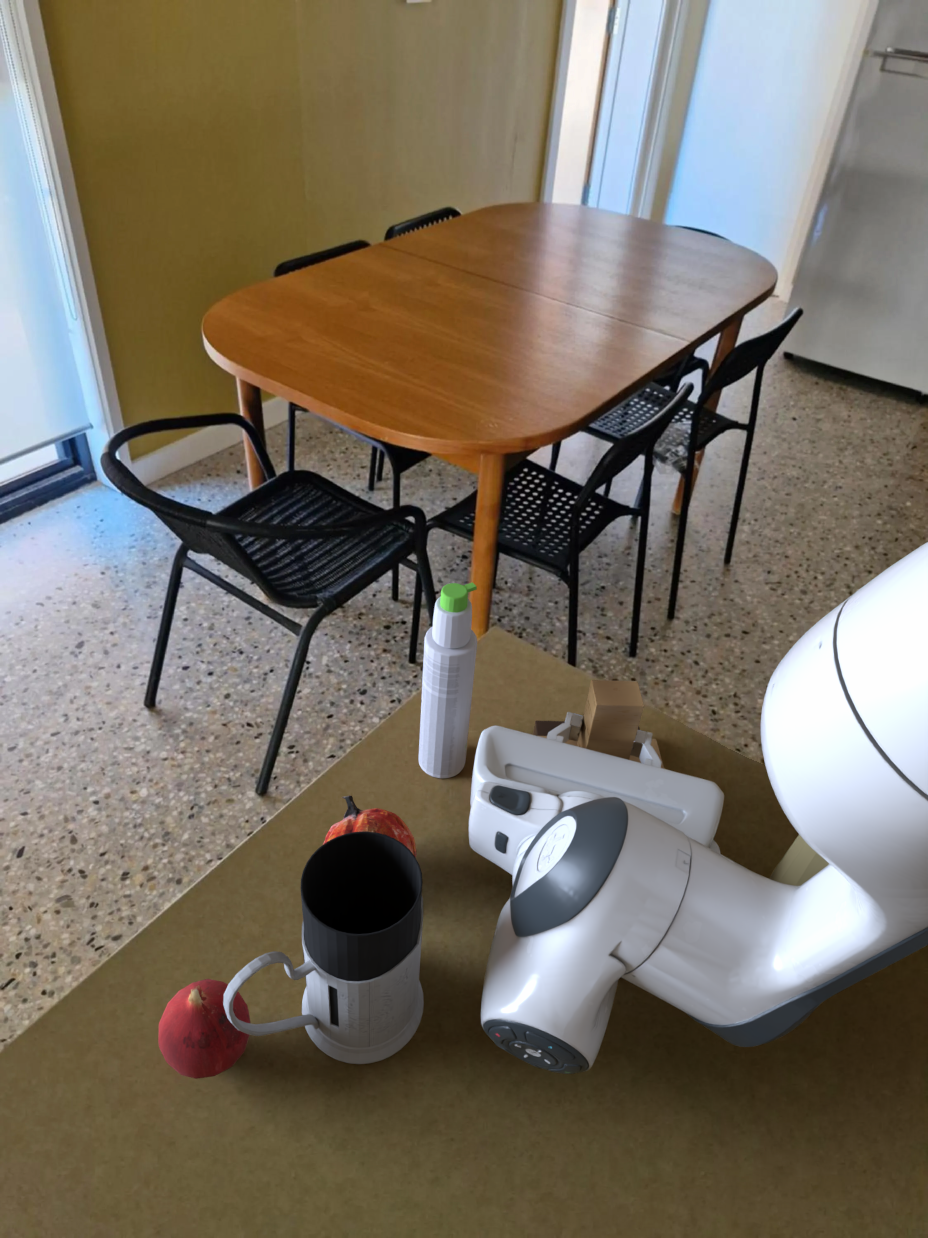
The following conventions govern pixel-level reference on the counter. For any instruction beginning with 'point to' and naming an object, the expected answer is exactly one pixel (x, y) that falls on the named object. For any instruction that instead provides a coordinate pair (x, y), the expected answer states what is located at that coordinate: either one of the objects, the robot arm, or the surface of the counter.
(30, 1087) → the counter surface
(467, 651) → the bottle
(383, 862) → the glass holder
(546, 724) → the chip
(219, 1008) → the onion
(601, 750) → the brush
